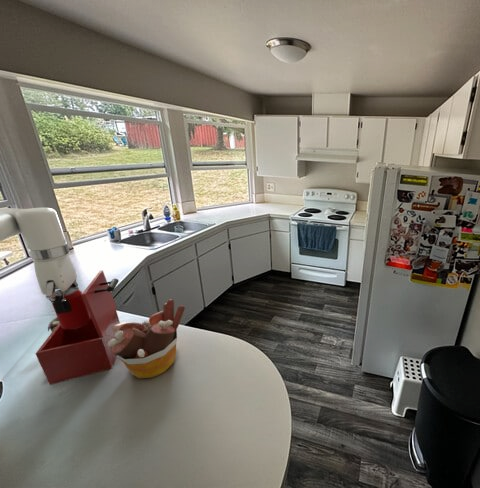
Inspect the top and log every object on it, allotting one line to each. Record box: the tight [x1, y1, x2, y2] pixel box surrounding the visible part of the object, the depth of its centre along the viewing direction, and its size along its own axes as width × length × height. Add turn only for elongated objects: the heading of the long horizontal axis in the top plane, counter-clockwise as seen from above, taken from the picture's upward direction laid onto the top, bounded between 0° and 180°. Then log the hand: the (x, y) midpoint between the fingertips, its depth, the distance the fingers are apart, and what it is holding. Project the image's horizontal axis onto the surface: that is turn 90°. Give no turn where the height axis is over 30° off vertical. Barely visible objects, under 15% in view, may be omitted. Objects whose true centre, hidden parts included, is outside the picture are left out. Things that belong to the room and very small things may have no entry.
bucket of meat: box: [108, 298, 186, 379], centre depth 79 cm, size 20×16×20 cm
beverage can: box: [51, 287, 90, 329], centre depth 77 cm, size 7×7×12 cm
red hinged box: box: [35, 310, 121, 386], centre depth 82 cm, size 15×17×12 cm
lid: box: [82, 270, 120, 338], centre depth 81 cm, size 15×17×6 cm
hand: (69, 305), depth 77 cm, fingers closed on beverage can, 6 cm apart
